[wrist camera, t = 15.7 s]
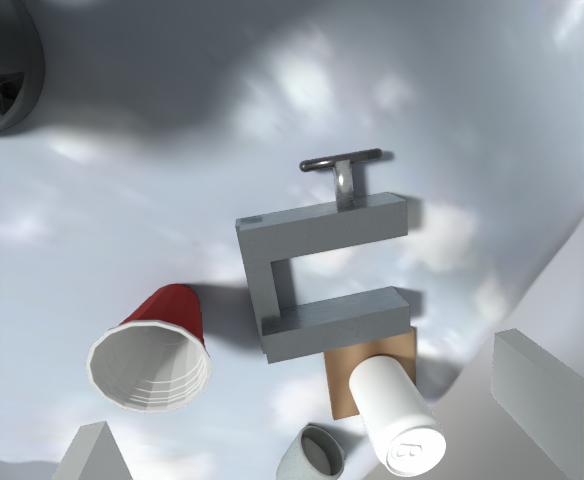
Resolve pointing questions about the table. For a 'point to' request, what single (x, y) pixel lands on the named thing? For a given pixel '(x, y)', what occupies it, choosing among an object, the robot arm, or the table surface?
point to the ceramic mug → (312, 457)
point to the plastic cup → (153, 355)
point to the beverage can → (396, 417)
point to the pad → (350, 357)
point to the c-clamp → (313, 239)
